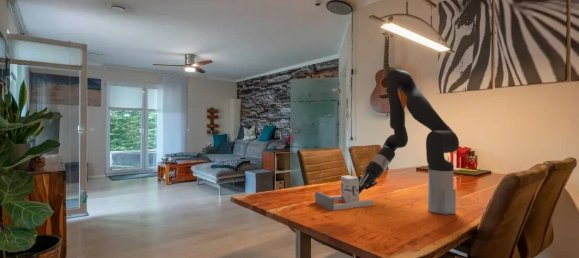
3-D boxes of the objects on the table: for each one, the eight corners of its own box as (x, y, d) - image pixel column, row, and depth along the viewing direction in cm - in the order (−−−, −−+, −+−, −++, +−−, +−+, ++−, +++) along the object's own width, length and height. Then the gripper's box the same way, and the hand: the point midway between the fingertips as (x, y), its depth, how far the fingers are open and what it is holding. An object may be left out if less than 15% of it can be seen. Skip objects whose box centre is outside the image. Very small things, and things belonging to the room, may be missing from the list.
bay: (372, 205, 132) (373, 194, 132) (330, 210, 124) (330, 198, 124) (354, 198, 145) (354, 187, 145) (315, 202, 137) (315, 191, 137)
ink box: (340, 201, 140) (340, 175, 140) (349, 200, 142) (349, 175, 141) (349, 205, 132) (349, 178, 132) (359, 204, 133) (359, 178, 133)
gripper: (364, 159, 147) (342, 185, 143) (382, 162, 135) (359, 191, 130) (373, 169, 149) (352, 195, 145) (391, 173, 137) (369, 202, 132)
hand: (355, 193), depth 138 cm, fingers closed
